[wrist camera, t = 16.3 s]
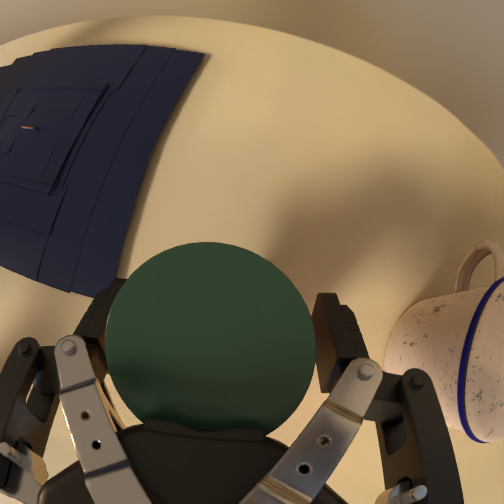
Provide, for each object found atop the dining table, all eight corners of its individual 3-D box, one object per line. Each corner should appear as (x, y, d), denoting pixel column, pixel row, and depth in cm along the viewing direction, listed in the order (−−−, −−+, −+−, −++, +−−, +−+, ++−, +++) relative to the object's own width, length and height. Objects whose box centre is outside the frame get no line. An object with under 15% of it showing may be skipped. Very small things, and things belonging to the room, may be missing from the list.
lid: (112, 398, 8) (91, 410, 7) (151, 238, 10) (135, 221, 8) (279, 443, 8) (286, 465, 6) (319, 278, 10) (335, 269, 8)
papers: (12, 69, 22) (3, 54, 19) (205, 71, 25) (206, 45, 22) (-69, 229, 16) (-86, 221, 13) (120, 308, 19) (104, 306, 16)
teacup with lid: (452, 412, 16) (558, 438, 5) (363, 410, 16) (478, 475, 5) (476, 273, 19) (579, 235, 8) (396, 245, 19) (511, 174, 8)
